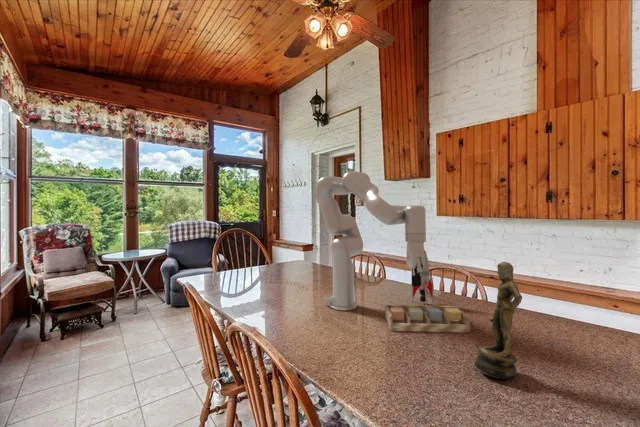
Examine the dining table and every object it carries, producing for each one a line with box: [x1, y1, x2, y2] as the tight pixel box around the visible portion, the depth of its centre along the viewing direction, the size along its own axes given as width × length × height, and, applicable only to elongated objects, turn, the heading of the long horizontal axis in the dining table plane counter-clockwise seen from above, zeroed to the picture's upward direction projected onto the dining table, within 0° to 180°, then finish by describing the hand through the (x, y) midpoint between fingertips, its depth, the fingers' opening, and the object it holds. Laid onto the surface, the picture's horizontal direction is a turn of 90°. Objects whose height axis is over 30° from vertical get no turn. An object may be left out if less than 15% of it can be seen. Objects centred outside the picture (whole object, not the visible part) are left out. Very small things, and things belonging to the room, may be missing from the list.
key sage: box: [408, 308, 423, 320], centre depth 118 cm, size 4×4×3 cm
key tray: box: [384, 304, 471, 333], centre depth 118 cm, size 28×14×5 cm, turn 86°
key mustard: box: [445, 308, 461, 320], centre depth 117 cm, size 4×4×3 cm
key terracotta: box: [390, 308, 404, 319], centre depth 119 cm, size 4×4×3 cm
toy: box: [411, 249, 434, 306], centre depth 141 cm, size 10×9×30 cm
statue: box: [474, 261, 523, 380], centre depth 82 cm, size 11×11×30 cm
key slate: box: [427, 308, 442, 320], centre depth 118 cm, size 4×4×3 cm
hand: (416, 285), depth 118 cm, fingers closed
